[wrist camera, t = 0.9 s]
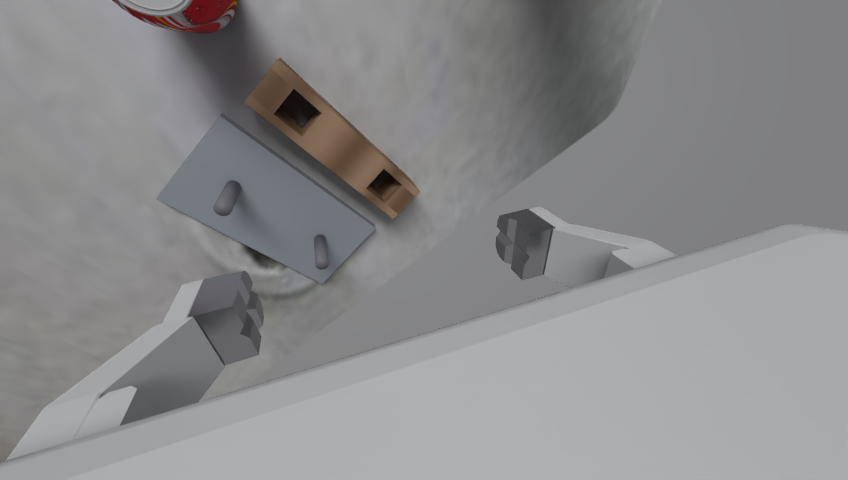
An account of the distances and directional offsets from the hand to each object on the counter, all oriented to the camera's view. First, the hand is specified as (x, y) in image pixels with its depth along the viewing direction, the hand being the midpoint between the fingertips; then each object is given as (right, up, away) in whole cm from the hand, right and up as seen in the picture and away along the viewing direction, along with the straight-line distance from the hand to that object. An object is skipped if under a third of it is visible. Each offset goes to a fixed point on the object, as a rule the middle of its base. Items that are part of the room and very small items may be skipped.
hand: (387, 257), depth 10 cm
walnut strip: (-9, +13, +28) cm, 32 cm away
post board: (-17, +4, +30) cm, 35 cm away
